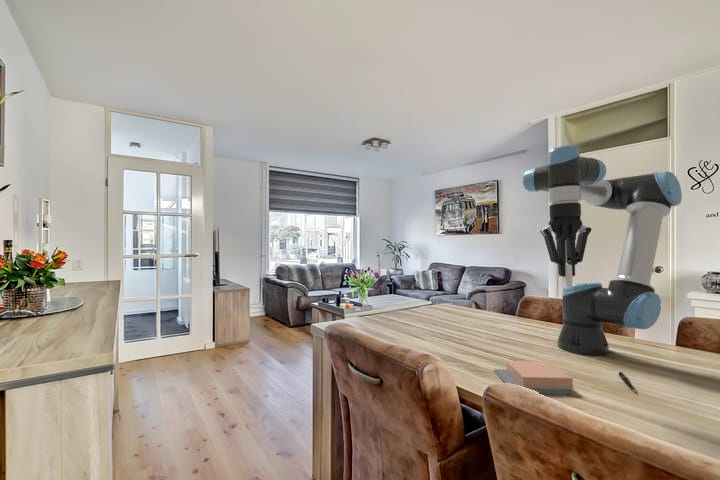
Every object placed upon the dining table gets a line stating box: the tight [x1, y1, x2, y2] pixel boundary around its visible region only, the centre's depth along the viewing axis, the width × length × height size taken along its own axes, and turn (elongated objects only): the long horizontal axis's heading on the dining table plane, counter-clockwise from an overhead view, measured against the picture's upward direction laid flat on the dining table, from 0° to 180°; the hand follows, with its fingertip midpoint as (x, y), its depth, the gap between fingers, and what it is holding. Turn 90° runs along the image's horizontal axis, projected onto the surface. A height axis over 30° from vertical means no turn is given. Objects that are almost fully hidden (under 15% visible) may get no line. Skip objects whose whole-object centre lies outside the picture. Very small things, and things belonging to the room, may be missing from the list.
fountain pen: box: [618, 370, 636, 392], centre depth 91 cm, size 14×1×2 cm, turn 156°
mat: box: [493, 368, 572, 396], centre depth 93 cm, size 14×15×1 cm
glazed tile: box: [506, 360, 574, 391], centre depth 93 cm, size 3×12×12 cm
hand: (567, 288), depth 95 cm, fingers closed
